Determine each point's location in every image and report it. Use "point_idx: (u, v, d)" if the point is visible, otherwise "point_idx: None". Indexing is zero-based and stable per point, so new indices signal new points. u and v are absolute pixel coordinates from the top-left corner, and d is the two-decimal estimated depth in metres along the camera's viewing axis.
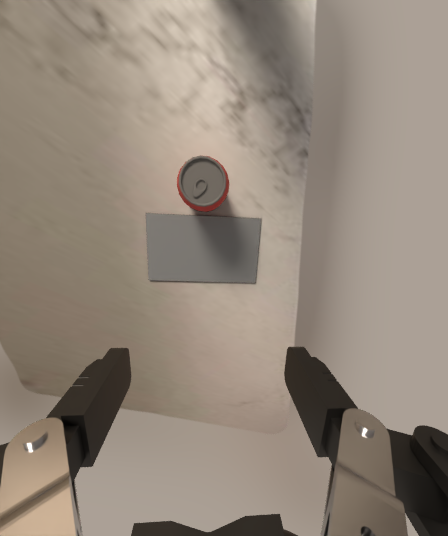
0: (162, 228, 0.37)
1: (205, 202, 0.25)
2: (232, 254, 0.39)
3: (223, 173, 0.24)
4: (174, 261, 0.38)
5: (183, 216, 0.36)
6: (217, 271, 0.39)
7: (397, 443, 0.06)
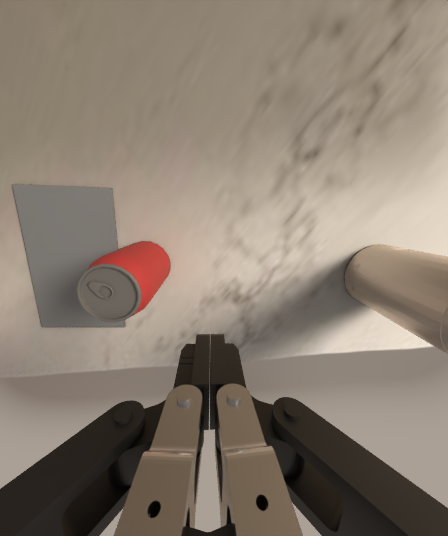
0: (93, 208, 0.28)
1: (84, 296, 0.19)
2: (74, 298, 0.31)
3: (123, 318, 0.19)
4: (49, 223, 0.28)
5: (113, 237, 0.29)
6: (47, 280, 0.30)
7: (263, 413, 0.07)
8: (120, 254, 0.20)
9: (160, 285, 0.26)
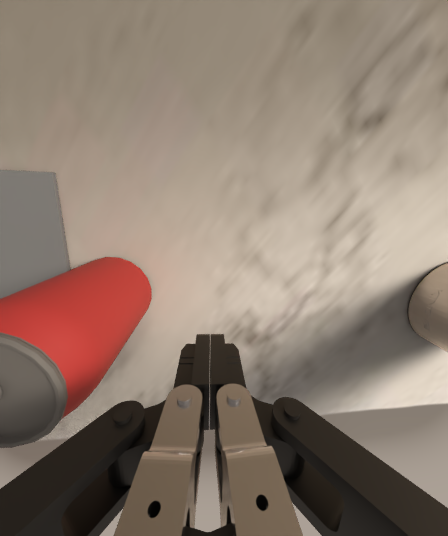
0: (24, 206, 0.17)
1: None
2: None
3: (29, 441, 0.09)
4: None
5: (61, 251, 0.18)
6: None
7: (263, 413, 0.07)
8: (29, 299, 0.10)
9: (129, 335, 0.15)
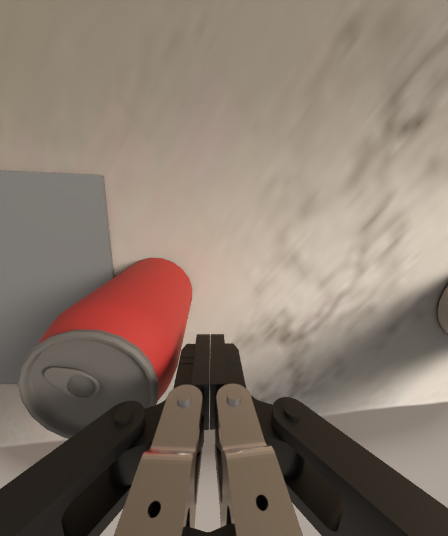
0: (73, 208, 0.18)
1: (38, 395, 0.09)
2: None
3: None
4: (4, 231, 0.18)
5: (106, 252, 0.19)
6: (5, 317, 0.19)
7: (262, 412, 0.07)
8: (114, 299, 0.10)
9: None
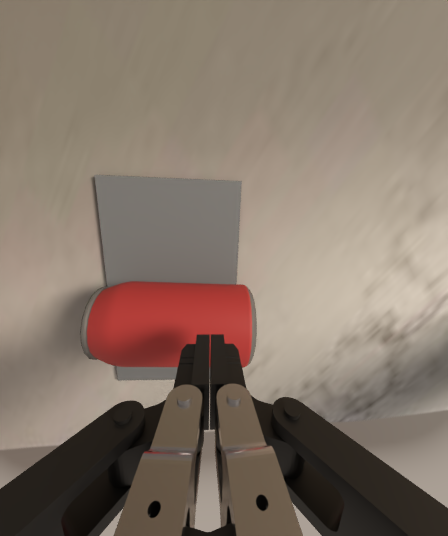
0: (211, 212, 0.18)
1: None
2: None
3: None
4: (144, 234, 0.18)
5: (234, 255, 0.19)
6: None
7: (263, 413, 0.07)
8: (116, 300, 0.15)
9: None
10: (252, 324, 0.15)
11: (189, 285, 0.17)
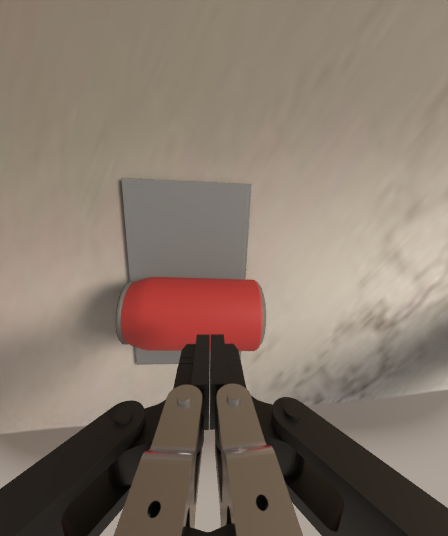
0: (224, 212, 0.21)
1: None
2: None
3: None
4: (164, 231, 0.21)
5: (244, 249, 0.22)
6: None
7: (263, 413, 0.07)
8: (145, 296, 0.17)
9: None
10: (262, 317, 0.17)
11: (206, 281, 0.19)
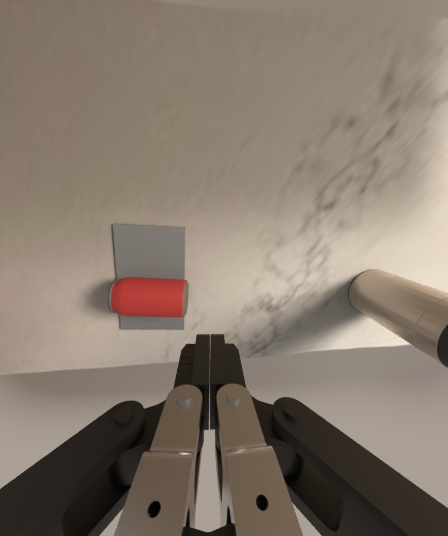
0: (170, 242, 0.37)
1: None
2: None
3: None
4: (136, 252, 0.37)
5: (182, 263, 0.38)
6: None
7: (263, 413, 0.07)
8: (123, 286, 0.33)
9: (152, 316, 0.35)
10: (183, 298, 0.34)
11: (157, 279, 0.35)
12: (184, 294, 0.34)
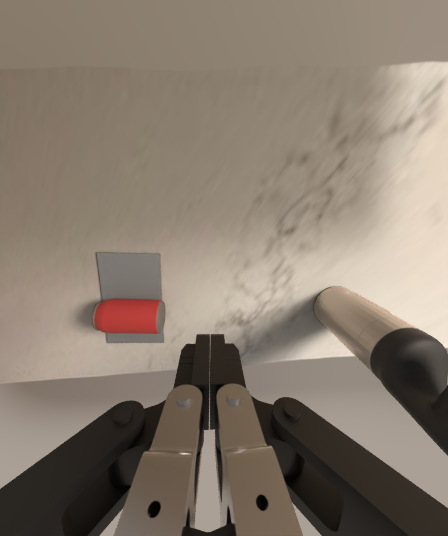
0: (147, 267, 0.42)
1: None
2: None
3: None
4: (118, 276, 0.42)
5: (159, 284, 0.43)
6: None
7: (263, 413, 0.07)
8: (105, 308, 0.38)
9: (131, 333, 0.40)
10: (156, 317, 0.39)
11: (135, 301, 0.40)
12: (157, 314, 0.39)
